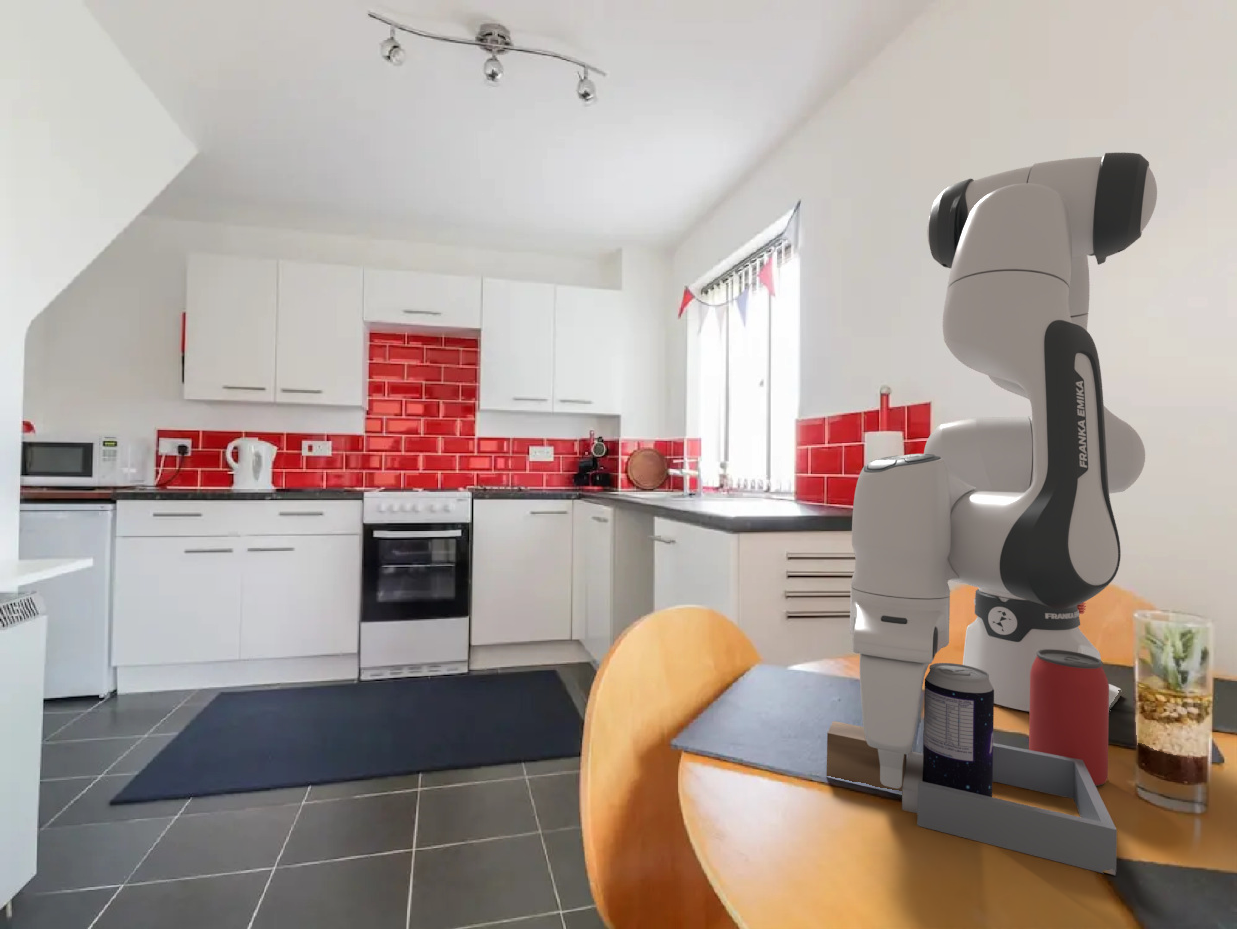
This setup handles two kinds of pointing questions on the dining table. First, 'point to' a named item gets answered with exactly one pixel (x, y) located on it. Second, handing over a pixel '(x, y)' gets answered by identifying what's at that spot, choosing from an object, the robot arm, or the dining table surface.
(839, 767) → the brown block
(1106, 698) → the beer can
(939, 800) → the box
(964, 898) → the dining table surface
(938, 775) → the beverage can
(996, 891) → the dining table surface
